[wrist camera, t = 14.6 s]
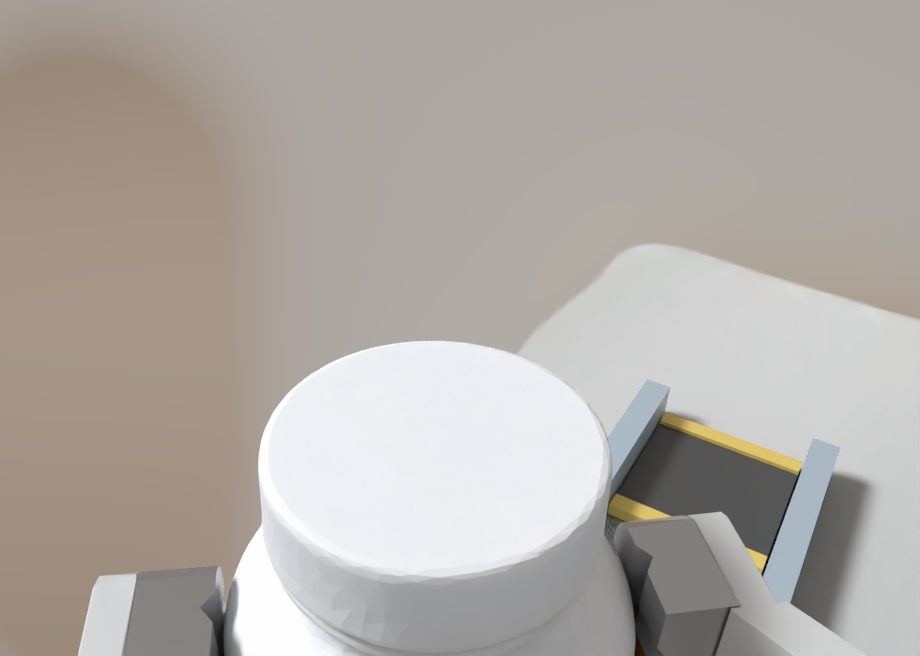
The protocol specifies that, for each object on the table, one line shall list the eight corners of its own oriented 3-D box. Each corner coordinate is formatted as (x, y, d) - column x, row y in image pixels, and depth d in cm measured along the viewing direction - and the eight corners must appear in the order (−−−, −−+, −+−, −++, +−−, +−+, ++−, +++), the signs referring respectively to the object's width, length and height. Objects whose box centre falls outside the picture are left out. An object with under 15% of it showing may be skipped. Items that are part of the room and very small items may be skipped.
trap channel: (641, 409, 45) (647, 379, 43) (827, 479, 41) (840, 447, 40) (375, 817, 27) (374, 784, 26) (658, 1003, 23) (671, 973, 22)
